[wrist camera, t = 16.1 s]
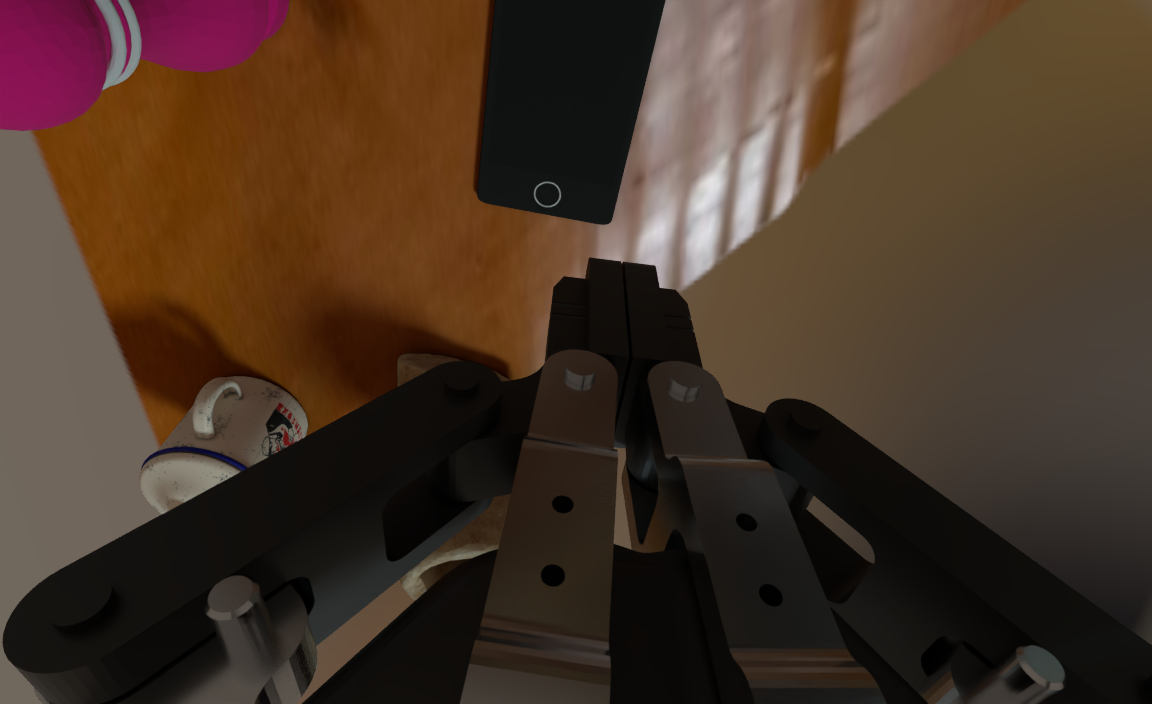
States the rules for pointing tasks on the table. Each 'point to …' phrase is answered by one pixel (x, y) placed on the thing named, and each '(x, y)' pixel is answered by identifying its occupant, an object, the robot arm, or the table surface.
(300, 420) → the teacup with lid
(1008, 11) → the table surface
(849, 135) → the table surface
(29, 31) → the pepper mill
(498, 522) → the sheepskin slipper boot
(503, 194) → the cell phone
